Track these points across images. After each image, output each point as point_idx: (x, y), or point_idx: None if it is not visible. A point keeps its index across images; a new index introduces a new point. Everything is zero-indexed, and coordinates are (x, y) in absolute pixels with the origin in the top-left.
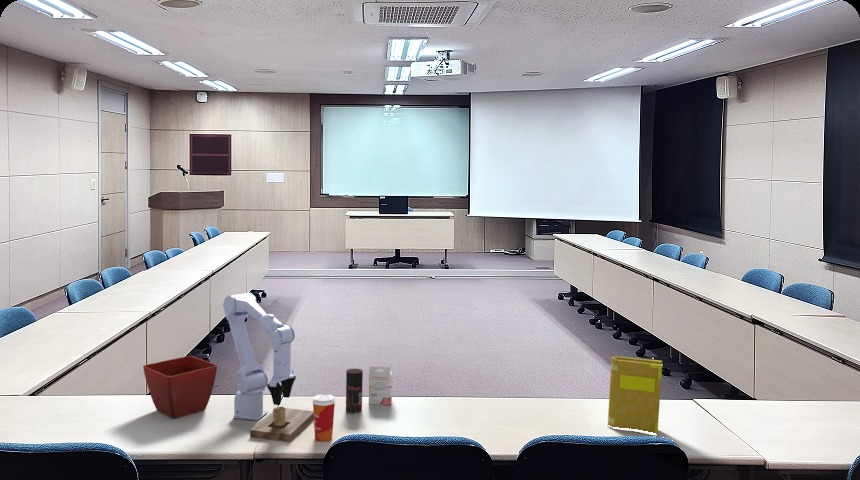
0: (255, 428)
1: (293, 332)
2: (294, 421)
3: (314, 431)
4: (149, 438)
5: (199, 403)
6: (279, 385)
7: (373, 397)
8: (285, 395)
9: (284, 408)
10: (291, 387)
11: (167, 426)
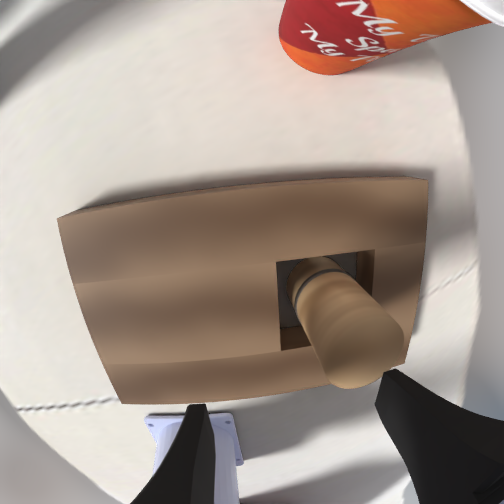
0: None
1: None
2: (256, 247)
3: (361, 65)
4: (396, 471)
5: None
6: (489, 487)
7: None
8: (211, 435)
9: (355, 331)
10: (172, 473)
11: (336, 492)
